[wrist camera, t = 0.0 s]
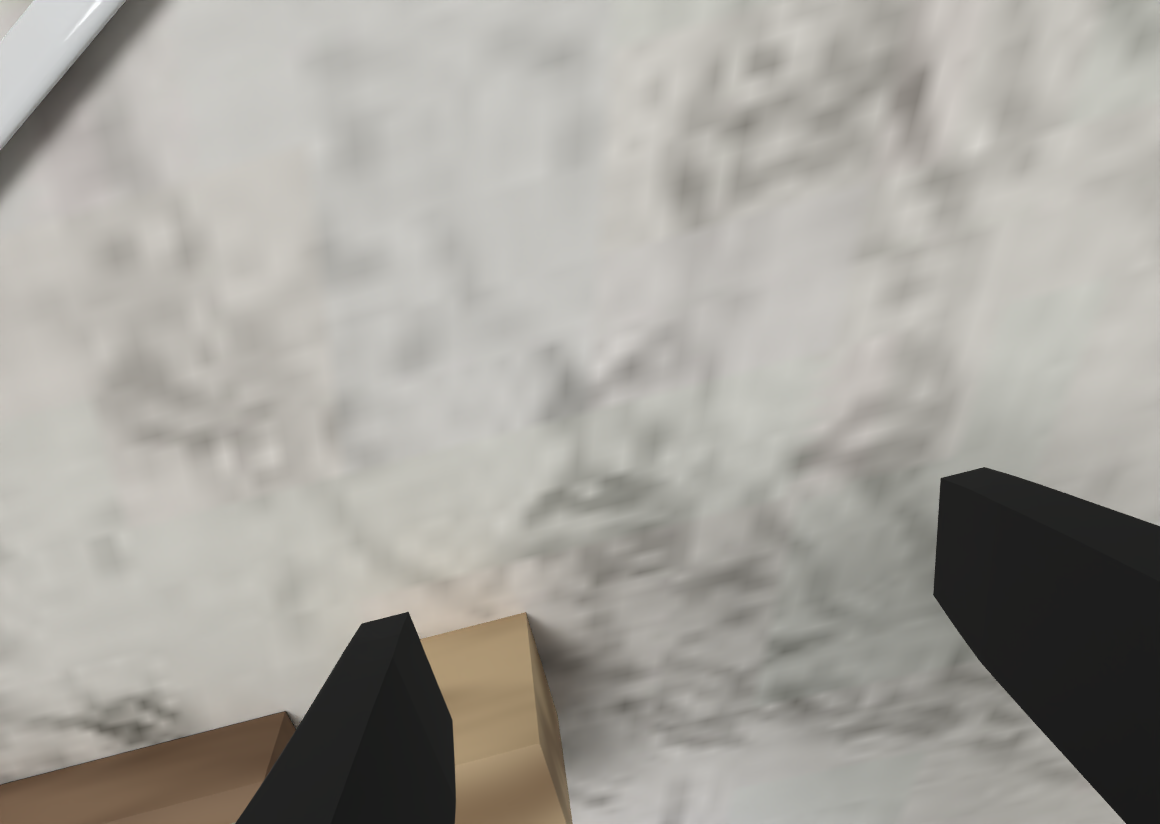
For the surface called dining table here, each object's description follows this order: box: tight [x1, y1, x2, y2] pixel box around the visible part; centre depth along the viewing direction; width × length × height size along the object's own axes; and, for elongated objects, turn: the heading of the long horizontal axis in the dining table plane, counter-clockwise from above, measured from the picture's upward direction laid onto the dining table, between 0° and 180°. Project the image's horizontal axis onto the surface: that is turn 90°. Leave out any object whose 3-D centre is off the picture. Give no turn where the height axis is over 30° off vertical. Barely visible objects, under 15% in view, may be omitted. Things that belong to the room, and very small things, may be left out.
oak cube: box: [420, 612, 573, 824], centre depth 20 cm, size 5×5×5 cm
